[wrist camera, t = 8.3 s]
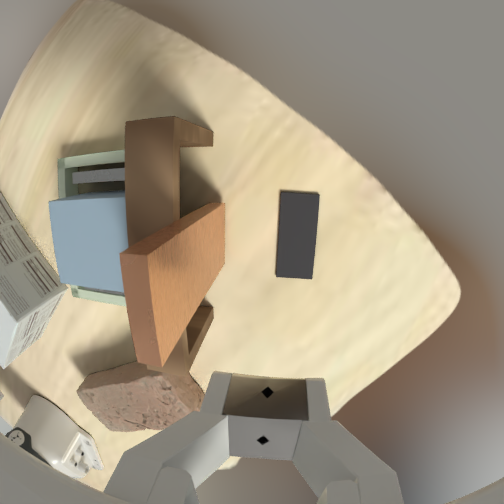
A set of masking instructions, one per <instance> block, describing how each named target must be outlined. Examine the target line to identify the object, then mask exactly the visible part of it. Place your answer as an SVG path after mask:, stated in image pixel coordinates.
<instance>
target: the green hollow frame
mask: <svg viewBox="0 0 504 504" xmlns="http://www.w3.org/2000/svg"><path fill="white" fill-rule="evenodd" d="M121 162H125V150H118V151H109V152H101V153H93V154H86V155H79V156H72V157H66V158H60V159H58V190H59V199H61V198H66V197H70V196H74V195H78V183H77V184H73V176H72V173H74V172H78V167H82V166H90V165H100V164H110V163H121ZM70 286H71V290H72V295H73V297H78V298H82V299H88V300H93V301H98V302H103V303H109V304H114V305H120V306H126V301H125V295H119V294H113V293H106V292H100V291H94V290H89V289H85V287H83V286H76V285H70Z"/></svg>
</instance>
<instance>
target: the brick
mask: <svg viewBox="0 0 504 504" xmlns="http://www.w3.org/2000/svg"><path fill="white" fill-rule="evenodd" d="M77 394H78V396H79V398H80V399H81V400H82V402H83V403H84V405H85V406H86V407H87V408H88V409H89V410H90V411H92V413H93V414H94V416H95V417H97V418H98V419H99V421H100V422H102V424H104V425H105V426H106V427H107V428H108V429H109V430H110V431H121V432H132V431H138V430H145V429H146V428H147V429H153V430H163V429H164V428H167V427H169V426H170V425H172V424H174V423H175V422H177V421H178V420H180V419H182V418H183V417H185V416H186V415H188V414H190V413H191V412H193V411H200V408H201V405H202V402H203V399H204V396H205V394H204V393H203V392H202V390H201V389H200V387H199V386H198V384H196V383H195V382H194V380H193V379H192V377H191V376H190V374H189V372H188V374H187V376H186V377H185V376H179V375H174V374H169V373H164V372H159V371H154V370H149V369H147V364H143V363H139V362H138V361H135V362H132V363H127V364H126V365H122V366H119V367H117V368H112V369H109V370H107V371H100V372H96V373H94V374H90V375H88V376H87V377H86V378H85V379H84V381H83V383H82V384H81V385H80V386H79V389H78V390H77Z"/></svg>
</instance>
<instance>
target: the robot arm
mask: <svg viewBox="0 0 504 504" xmlns="http://www.w3.org/2000/svg"><path fill="white" fill-rule="evenodd" d="M229 456H238V457H250V458H266V459H278V460H292V462H293V463H294V465H295V466H296V468H297V469H298V471H299V472H300V473H301V475H302V476H303V478H304V479H305V480H306V482H307V483H308V484H309V486H310V487H311V488H312V490H313V491H314V493H315V494H316V495H317V496H318V498H319V500H318V501H317V503H316V504H404V502H403V498H402V494H401V490H400V486H399V482H398V478H397V474H396V472H395V471H394V470H393V469H392V468H390V467H389V466H388V465H386V464H385V463H384V462H383V461H382V460H381V459H379V458H378V457H377V456H376V455H375V454H374V453H373V452H371V451H370V450H369V449H368V448H367V447H366V446H364V445H363V444H362V443H361V442H360V441H359V440H358V439H357V438H355V437H354V436H353V435H352V434H351V433H350V432H349V431H348V430H346V429H345V428H344V427H343V426H342V425H341V424H340V423H339V422H338V421H331V416H330V409H329V403H328V396H327V390H326V384H325V380H324V379H323V378H305V379H304V378H278V377H264V376H254V375H245V374H236V373H233V374H232V373H226V372H219V371H214V372H213V374H212V376H211V379H210V382H209V385H208V388H207V391H206V393H205V396H204V399H203V402H202V405H201V408H200V411H193V412H191V413H190V414H188V415H186V416H185V417H183V418H182V419H180V420H178V421H177V422H175V423H174V424H172V425H170V426H169V427H167V428H165V429H164V430H162V431H160V432H159V433H157V434H155V435H154V436H152V437H150V438H148V439H147V440H145V441H143V442H141V443H140V444H138V445H136V446H134V447H132V448H131V449H129V450H127V451H125V452H124V453H123V455H122V457H121V459H120V461H119V463H118V465H117V467H116V469H115V470H114V472H113V474H112V476H111V478H110V480H109V482H108V484H107V486H106V488H105V490H104V492H101V491H99V490H97V489H94V488H92V487H90V486H88V485H86V484H83V483H81V482H79V481H77V480H75V479H73V478H83V477H85V476H86V474H87V473H88V472H89V470H90V469H91V468H94V469H98V470H103V468H104V466H103V463H102V460H101V458H100V455H99V453H98V450H97V447H96V444H95V442H94V439H93V438H92V437H91V436H90V435H89V434H88V433H86V432H85V431H84V430H82V429H81V428H80V427H78V426H77V425H76V424H75V423H74V422H73V421H72V420H71V419H70V418H69V417H68V416H67V415H66V414H65V413H64V412H62V411H61V410H60V409H59V408H57V407H56V406H55V405H54V404H52V403H51V402H49V401H48V400H46V399H44V398H42V397H40V396H37V395H32V396H31V398H30V401H29V403H28V404H27V405H26V408H25V410H24V412H23V413H22V415H21V416H20V418H19V420H18V421H17V423H16V424H15V426H14V428H13V430H11V431H10V432H8V433H7V434H6V435H5V436H4V435H3V434H2V433H0V504H199V500H198V497H197V494H196V490H195V488H197V487H198V486H199V485H200V484H201V483H202V482H203V481H205V479H207V478H208V477H209V476H210V475H211V474H212V473H213V472H214V471H216V470H217V469H218V468H219V467H220V466H221V465H222V464H223V463H224V462H225V461H226V460H227V459H228V458H229ZM445 504H504V477H503V478H501V479H499V480H498V481H496V482H494V483H492V484H490V485H488V486H486V487H484V488H481V489H479V490H477V491H475V492H473V493H470V494H468V495H466V496H463V497H461V498H458V499H456V500H453V501H450V502H448V503H445Z"/></svg>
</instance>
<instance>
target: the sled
mask: <svg viewBox="0 0 504 504" xmlns="http://www.w3.org/2000/svg"><path fill="white" fill-rule="evenodd" d="M72 176H73V184H77V183H90V182H105V181H123V180H125V168H115V169H103V170H92V171H83V172H74V173H72ZM119 256H120V265H121V273H122V281H123V288H124V292H118V291H110V290H103V289H96V288H90V287H85V289H89V290H94V291H100V292H106V293H113V294H119V295H125V301H126V307H127V313H128V318H129V324H130V329H131V334H132V339H133V343H134V348H135V353H136V357H137V361H138V362H139V363H143V364H148V365H153V366H157V367H163V365H164V364H165V362H166V360H167V359H168V357H169V355H170V353H171V352H172V350H173V348H174V347H175V345H176V343H177V342H178V340H179V338H180V337H181V335H182V333H183V332H184V330H185V328H186V327H187V325H188V323H189V322H190V320H191V318H192V317H193V315H194V313H195V312H196V310H197V308H198V307H199V305H200V303H201V302H202V300H203V298H204V297H205V295H206V293H207V292H208V290H209V288H210V287H211V285H212V283H213V282H214V280H215V279H216V277H217V275H218V274H219V272H220V270H221V269H222V267H223V265H224V264H225V203H209V204H207V205H205V206H203V207H201V208H199V209H197V210H195V211H193V212H192V213H190V214H188V215H186V216H184V217H182V218H180V219H179V220H177V221H175V222H173V223H171V224H169V225H168V226H166V227H164V228H162V229H160V230H159V231H157V232H155V233H153V234H152V235H150V236H148V237H146V238H145V239H143V240H141V241H139V242H138V243H136V244H134V245H132V246H131V247H129V248H127V249H126V250H124V251H122V252H121V253H119Z"/></svg>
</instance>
